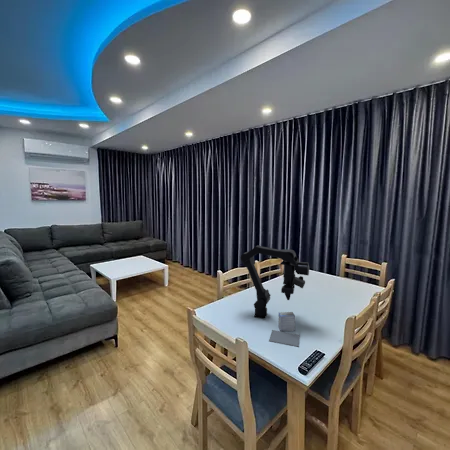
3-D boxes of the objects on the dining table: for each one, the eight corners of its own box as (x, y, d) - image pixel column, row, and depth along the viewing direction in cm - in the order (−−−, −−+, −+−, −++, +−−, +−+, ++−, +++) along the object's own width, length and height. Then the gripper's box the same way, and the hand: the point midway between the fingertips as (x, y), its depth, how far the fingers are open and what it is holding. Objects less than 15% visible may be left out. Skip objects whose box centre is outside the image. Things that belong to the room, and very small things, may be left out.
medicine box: (292, 326, 131) (292, 311, 130) (295, 331, 127) (295, 315, 126) (278, 327, 131) (278, 311, 130) (280, 331, 127) (280, 316, 125)
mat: (269, 341, 118) (269, 340, 118) (272, 330, 127) (272, 329, 127) (298, 347, 113) (298, 346, 113) (299, 335, 123) (299, 334, 123)
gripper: (304, 279, 122) (303, 309, 123) (304, 269, 139) (304, 295, 141) (281, 277, 125) (280, 306, 127) (285, 267, 143) (284, 292, 145)
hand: (288, 299), depth 135 cm, fingers closed
